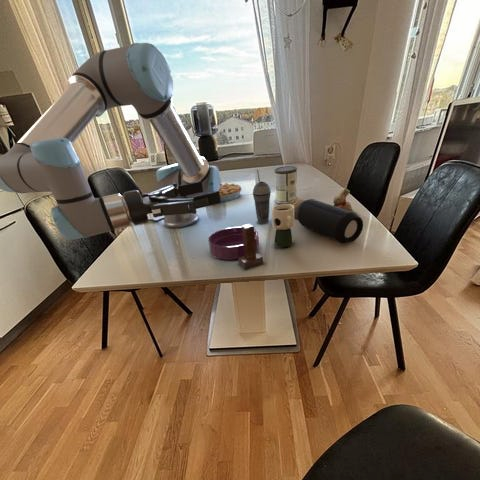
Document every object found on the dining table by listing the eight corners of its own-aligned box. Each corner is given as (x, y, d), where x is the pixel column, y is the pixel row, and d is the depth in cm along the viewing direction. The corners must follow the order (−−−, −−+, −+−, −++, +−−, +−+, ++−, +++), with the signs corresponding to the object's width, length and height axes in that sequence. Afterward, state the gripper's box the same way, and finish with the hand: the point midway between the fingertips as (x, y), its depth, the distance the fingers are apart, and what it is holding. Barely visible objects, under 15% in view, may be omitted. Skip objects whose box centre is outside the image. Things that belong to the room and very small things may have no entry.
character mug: (267, 242, 102) (266, 205, 94) (285, 237, 104) (285, 201, 95) (280, 253, 94) (280, 214, 86) (300, 248, 95) (301, 209, 87)
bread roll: (293, 227, 119) (299, 212, 113) (281, 211, 123) (285, 196, 116) (312, 221, 123) (318, 206, 116) (299, 206, 126) (305, 190, 119)
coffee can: (280, 196, 144) (280, 165, 135) (299, 197, 139) (300, 166, 130) (271, 202, 138) (270, 171, 129) (290, 204, 133) (291, 171, 124)
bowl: (201, 255, 99) (198, 242, 96) (230, 237, 109) (228, 224, 106) (240, 265, 90) (238, 250, 87) (268, 244, 101) (267, 230, 97)
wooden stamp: (244, 269, 88) (240, 230, 80) (238, 264, 91) (234, 226, 83) (263, 264, 89) (261, 225, 82) (256, 258, 93) (254, 221, 85)
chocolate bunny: (332, 210, 121) (335, 185, 115) (352, 209, 119) (355, 184, 113) (332, 214, 117) (334, 189, 111) (352, 214, 115) (355, 188, 108)
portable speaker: (362, 241, 95) (367, 211, 89) (339, 249, 92) (343, 218, 86) (314, 221, 113) (315, 195, 107) (293, 227, 110) (294, 200, 104)
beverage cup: (270, 224, 115) (269, 170, 102) (253, 225, 117) (249, 172, 104) (272, 218, 120) (271, 166, 108) (255, 219, 122) (252, 167, 110)
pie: (197, 196, 160) (195, 187, 157) (232, 188, 166) (231, 179, 163) (210, 206, 144) (209, 195, 141) (248, 196, 150) (248, 186, 146)
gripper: (126, 212, 79) (198, 196, 84) (140, 242, 60) (230, 218, 66) (116, 183, 74) (193, 168, 80) (127, 206, 56) (226, 184, 61)
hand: (210, 191), depth 73 cm, fingers open, 13 cm apart
